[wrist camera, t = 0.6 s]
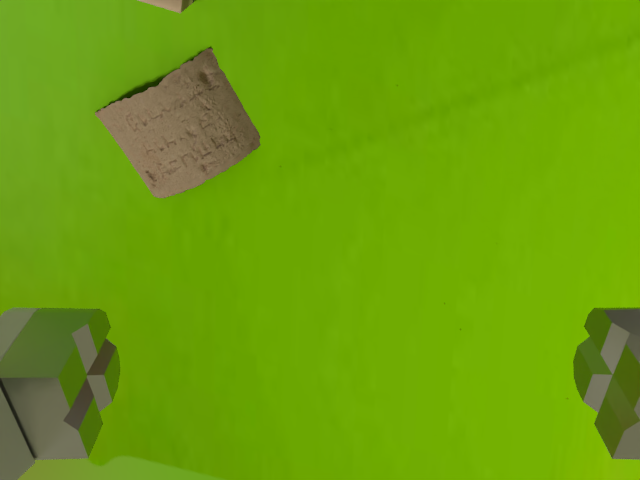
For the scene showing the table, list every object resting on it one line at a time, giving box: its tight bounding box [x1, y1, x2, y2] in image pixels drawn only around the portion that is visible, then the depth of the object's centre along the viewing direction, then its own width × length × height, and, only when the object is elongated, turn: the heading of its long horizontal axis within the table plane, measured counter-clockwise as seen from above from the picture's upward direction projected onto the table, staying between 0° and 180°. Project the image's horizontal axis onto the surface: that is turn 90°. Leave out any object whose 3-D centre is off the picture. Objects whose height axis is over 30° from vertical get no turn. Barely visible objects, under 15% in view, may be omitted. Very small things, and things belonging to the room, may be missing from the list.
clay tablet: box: [95, 49, 260, 198], centre depth 50 cm, size 14×10×3 cm
